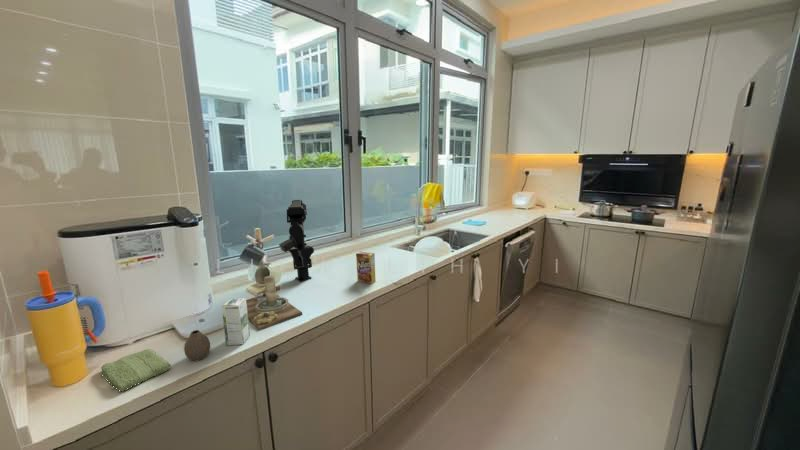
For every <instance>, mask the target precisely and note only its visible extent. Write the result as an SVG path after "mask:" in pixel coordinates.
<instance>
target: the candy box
mask: <svg viewBox="0 0 800 450" xmlns="http://www.w3.org/2000/svg"><path fill="white" fill-rule="evenodd" d="M375 255H376V254H375V252H366V251H360V250H359V251H358V252H356V253H355V256H356V257H355V258H356V261H355V262H356V276H357V282H362V283H367V284H373V283H375V282H376V259H375V258H376V257H375Z"/></svg>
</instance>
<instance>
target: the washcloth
mask: <svg viewBox="0 0 800 450" xmlns="http://www.w3.org/2000/svg"><path fill="white" fill-rule="evenodd" d="M170 367H171V364H170V363H169V361H167V360H165V358H164V357H162V356H160V355H159V353H157V352H156V351H155V350H154V349H152V348H146V349H143V350H140V351H137V352H134V353H130V354H127V355H124V356H122V357H120V358H119V359H117V360H114V361H111V362H106V363H104V364H102V366H101V367H100V369H101V371H100V372H99V375H100V374H102V375H103V377H104V378H106V379H107V380H108V382H110V383H109V385H111V384H112V385H113V386H114V387H113V386H112V385H111V386H112V387H113V388H114V389H116V388H117V389H118V390H120V391H123V392H125V391H127V390H128V389H127V388H129V389H131V388H132V387H131V386H133V385H135V384H138V383H141V382H142V381H143V382H144V380H145V381H147V380H146V379H148V378H150V377H152V376H155V377H157V376H159V375H158V374H160V373H161V374H164V373H166V372H168V371H169V370H170ZM167 370H168V371H167ZM165 371H166V372H165ZM163 372H164V373H163ZM161 374H160V375H161ZM156 375H157V376H156ZM103 377H102V378H103ZM104 378H103V379H104ZM152 378H153V377H152ZM106 379H105V380H106ZM150 379H151V378H150ZM107 380H106V381H107ZM148 380H149V379H148ZM108 382H107V383H108ZM143 382H142V383H143ZM142 383H141V384H142ZM138 385H139V384H138ZM130 387H131V388H130ZM133 387H134V386H133ZM117 389H116V390H117ZM126 389H127V390H126ZM118 390H117V391H118ZM124 390H125V391H124Z"/></svg>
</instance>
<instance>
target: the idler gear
mask: <svg viewBox="0 0 800 450" xmlns="http://www.w3.org/2000/svg"><path fill="white" fill-rule="evenodd" d="M263 280H264V289H265V290H264V291H265V293H266V300H267V302H266V303H263V307H262V309H274V308H277V307H280V306H282V304H283V303H282V301H281V300H280V301H279V300H277V296H276V294H277V289H276V281H275V280H276V279H275V275H267V276H264V278H263Z"/></svg>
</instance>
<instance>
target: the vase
mask: <svg viewBox="0 0 800 450" xmlns="http://www.w3.org/2000/svg"><path fill="white" fill-rule="evenodd" d="M183 351H184V355H185V357H186V358H187V359H188V360H189V361H192V360H193V361H192V362H196V360H198V361H200V359H201V360H203V359H205V358H206V357H207V355H209V353H210V351H211V341H210V338H209V337H208V336H207V335H206V334H204V333H203V332H201V330H199V329H195V330H192V331H191V332H190V334H189V336H188V337H187V339H186V340H185V343H184V345H183ZM204 357H205V358H204Z"/></svg>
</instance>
